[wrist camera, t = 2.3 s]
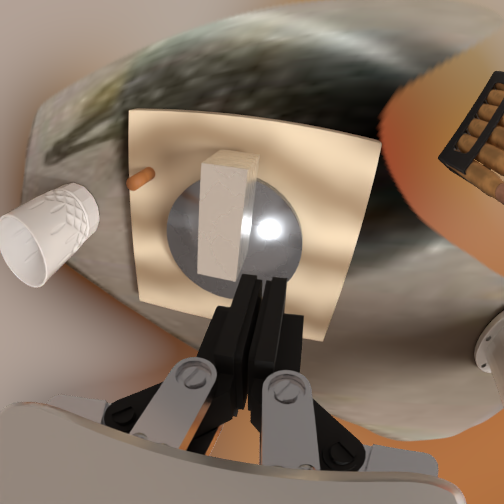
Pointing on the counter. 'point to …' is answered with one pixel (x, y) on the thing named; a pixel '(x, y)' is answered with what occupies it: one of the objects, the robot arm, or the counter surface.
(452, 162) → the ammunition clip
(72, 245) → the white cup
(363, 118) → the counter surface
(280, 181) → the dial panel
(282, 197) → the dial
